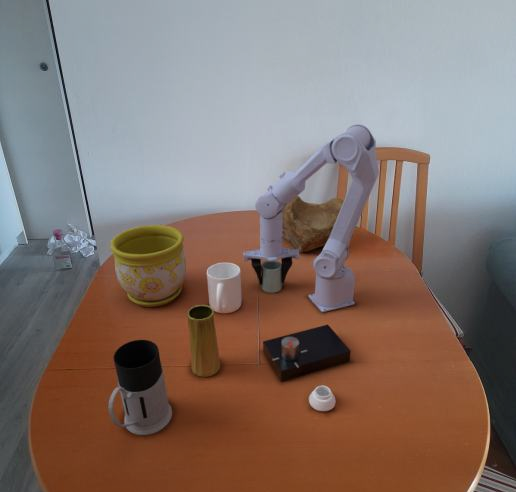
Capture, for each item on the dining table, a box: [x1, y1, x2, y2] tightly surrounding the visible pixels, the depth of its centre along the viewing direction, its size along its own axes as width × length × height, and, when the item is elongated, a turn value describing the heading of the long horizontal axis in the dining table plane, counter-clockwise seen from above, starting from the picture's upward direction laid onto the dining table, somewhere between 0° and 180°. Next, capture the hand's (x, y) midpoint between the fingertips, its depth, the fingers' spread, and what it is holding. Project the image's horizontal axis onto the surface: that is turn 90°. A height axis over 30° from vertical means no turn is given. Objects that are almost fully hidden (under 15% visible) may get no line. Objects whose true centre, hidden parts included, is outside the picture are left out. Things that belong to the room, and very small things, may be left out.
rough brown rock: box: [282, 195, 344, 254], centre depth 140 cm, size 23×17×15 cm
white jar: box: [308, 385, 337, 412], centre depth 84 cm, size 5×3×5 cm
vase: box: [187, 304, 221, 378], centre depth 91 cm, size 6×6×14 cm
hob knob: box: [281, 337, 299, 361], centre depth 92 cm, size 4×4×4 cm
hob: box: [262, 324, 352, 382], centre depth 96 cm, size 16×10×3 cm, turn 111°
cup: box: [261, 260, 283, 294], centre depth 120 cm, size 5×5×7 cm
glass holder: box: [108, 339, 173, 436], centre depth 77 cm, size 9×14×15 cm, turn 167°
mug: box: [206, 262, 243, 314], centre depth 110 cm, size 12×8×10 cm
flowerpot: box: [109, 224, 187, 308], centre depth 116 cm, size 18×18×16 cm
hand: (271, 282), depth 121 cm, fingers closed on cup, 5 cm apart
